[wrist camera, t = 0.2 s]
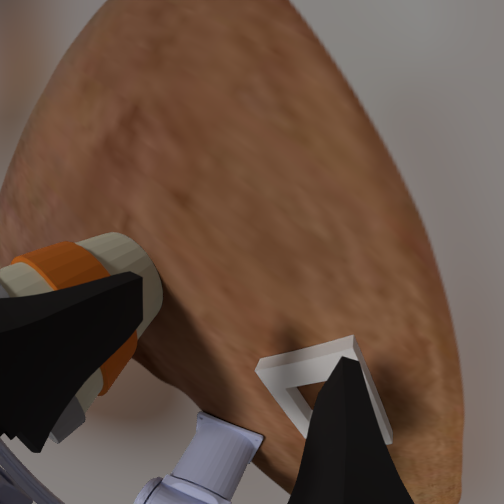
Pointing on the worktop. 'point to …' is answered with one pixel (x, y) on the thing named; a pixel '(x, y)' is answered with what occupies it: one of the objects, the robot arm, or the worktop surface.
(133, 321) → the robot arm
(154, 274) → the reusable coffee cup
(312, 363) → the white board with cutouts
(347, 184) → the worktop surface
